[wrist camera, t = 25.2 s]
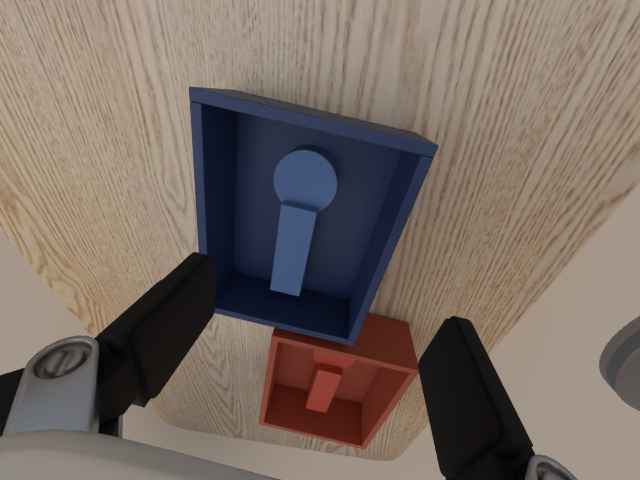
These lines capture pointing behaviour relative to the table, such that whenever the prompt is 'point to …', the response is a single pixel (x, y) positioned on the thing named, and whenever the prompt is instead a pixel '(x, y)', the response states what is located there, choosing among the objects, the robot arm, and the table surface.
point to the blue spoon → (300, 211)
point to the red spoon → (325, 379)
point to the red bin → (354, 386)
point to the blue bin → (264, 205)
